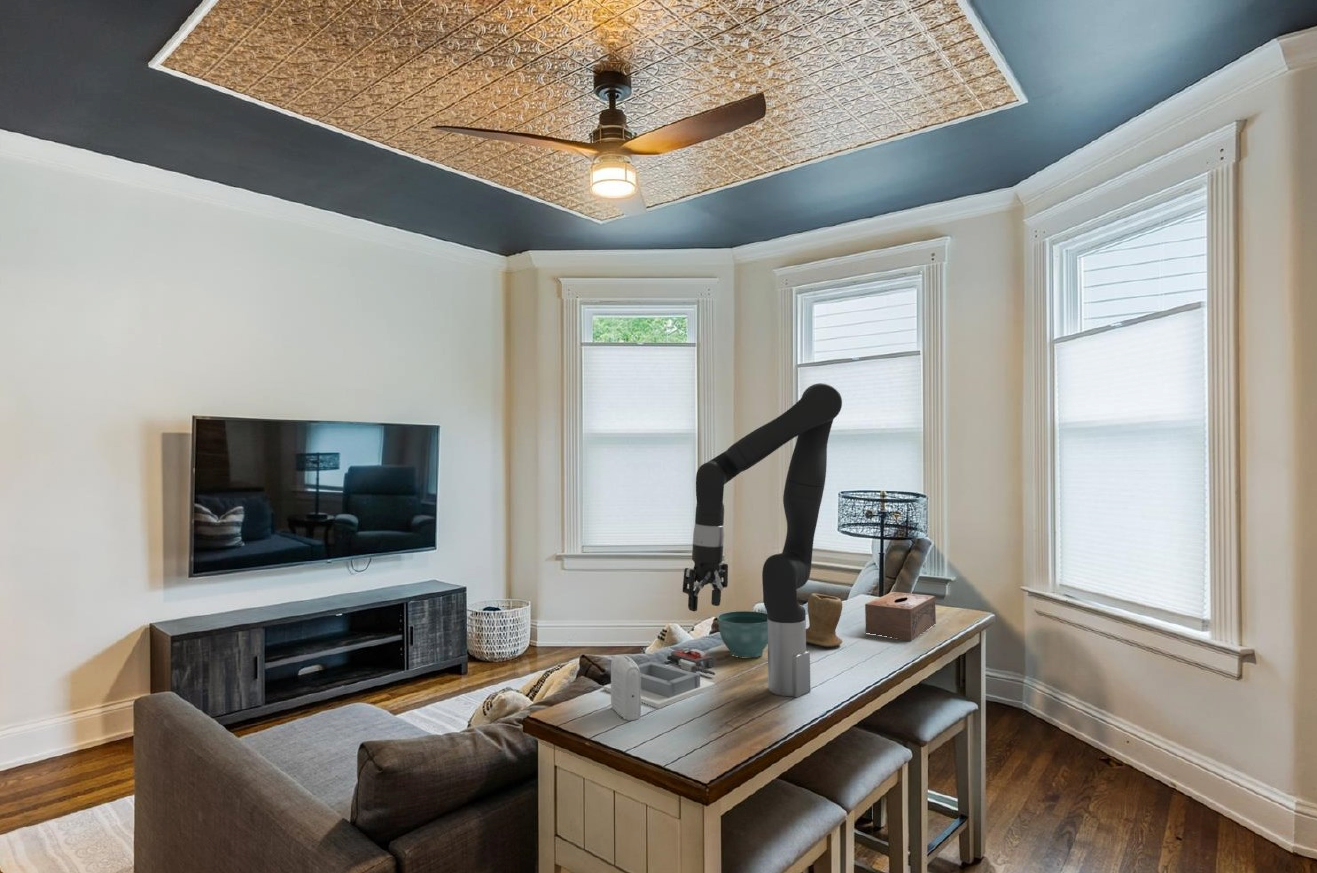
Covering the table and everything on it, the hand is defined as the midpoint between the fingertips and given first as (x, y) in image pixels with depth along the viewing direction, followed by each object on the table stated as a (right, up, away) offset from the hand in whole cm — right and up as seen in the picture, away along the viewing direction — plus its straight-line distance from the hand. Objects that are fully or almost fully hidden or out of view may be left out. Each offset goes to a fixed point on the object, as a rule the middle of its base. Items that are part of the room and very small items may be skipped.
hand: (704, 607), depth 171 cm
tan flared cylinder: (+38, -21, +42) cm, 60 cm away
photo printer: (-19, -20, -16) cm, 32 cm away
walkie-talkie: (-1, -21, +18) cm, 28 cm away
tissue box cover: (+69, -22, +58) cm, 93 cm away
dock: (-11, -20, 0) cm, 23 cm away
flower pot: (+14, -21, +30) cm, 39 cm away
